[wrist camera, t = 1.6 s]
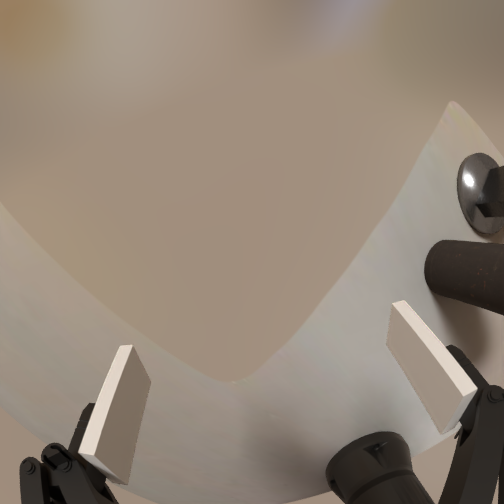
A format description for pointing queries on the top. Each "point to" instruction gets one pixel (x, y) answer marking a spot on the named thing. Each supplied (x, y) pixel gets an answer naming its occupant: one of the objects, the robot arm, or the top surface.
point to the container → (468, 272)
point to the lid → (481, 192)
